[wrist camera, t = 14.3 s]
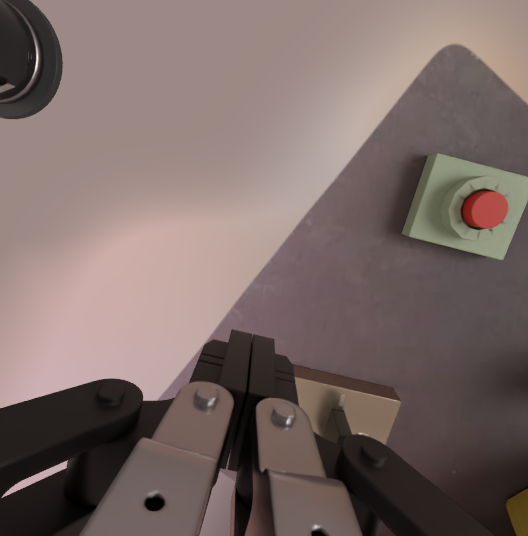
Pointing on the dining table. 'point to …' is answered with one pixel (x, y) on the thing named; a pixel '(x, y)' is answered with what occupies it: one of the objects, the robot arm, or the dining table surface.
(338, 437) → the red-tipped black block
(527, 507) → the flower pot
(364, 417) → the lever switch base
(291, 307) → the dining table surface
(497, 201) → the button
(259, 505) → the robot arm
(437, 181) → the switch block
